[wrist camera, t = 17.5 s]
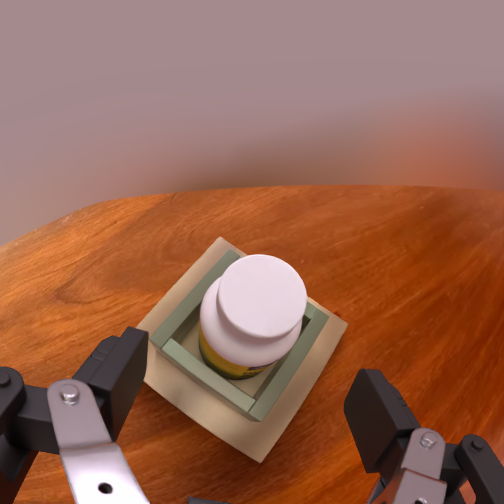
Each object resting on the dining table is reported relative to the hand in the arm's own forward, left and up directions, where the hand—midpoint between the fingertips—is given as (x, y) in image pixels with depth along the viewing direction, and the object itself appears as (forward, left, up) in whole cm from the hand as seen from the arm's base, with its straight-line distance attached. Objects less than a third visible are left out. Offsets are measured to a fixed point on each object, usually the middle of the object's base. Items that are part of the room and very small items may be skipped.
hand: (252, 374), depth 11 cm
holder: (-2, +4, -12) cm, 13 cm away
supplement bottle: (-2, +3, -11) cm, 11 cm away
